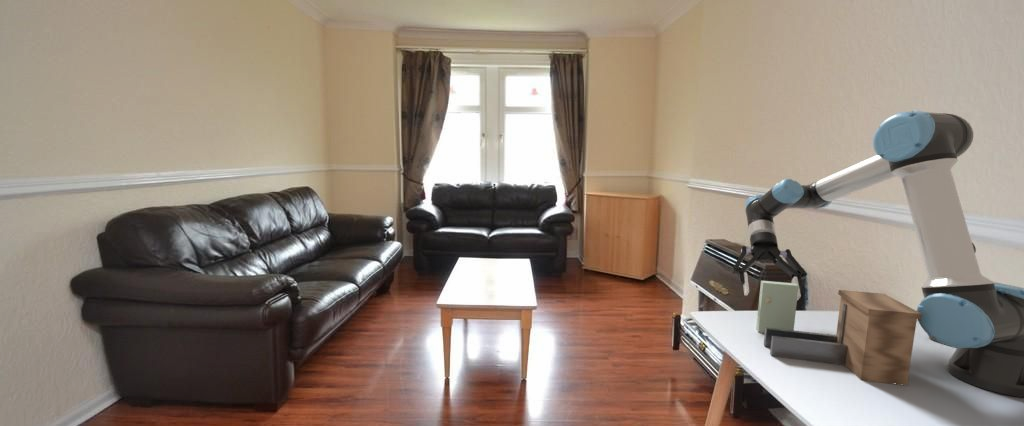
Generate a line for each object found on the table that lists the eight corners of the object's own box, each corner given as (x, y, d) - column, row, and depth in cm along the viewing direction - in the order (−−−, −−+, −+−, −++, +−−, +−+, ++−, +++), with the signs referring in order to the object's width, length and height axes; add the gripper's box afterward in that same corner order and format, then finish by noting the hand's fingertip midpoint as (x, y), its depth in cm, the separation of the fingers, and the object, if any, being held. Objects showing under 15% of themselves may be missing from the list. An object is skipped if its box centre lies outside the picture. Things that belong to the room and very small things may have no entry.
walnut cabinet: (875, 358, 113) (884, 293, 111) (910, 387, 99) (921, 314, 97) (830, 352, 116) (838, 289, 114) (859, 380, 102) (868, 308, 99)
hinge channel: (833, 353, 116) (835, 334, 115) (845, 365, 109) (847, 345, 108) (763, 344, 120) (765, 327, 119) (771, 355, 113) (773, 337, 113)
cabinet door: (790, 333, 129) (795, 283, 127) (793, 337, 126) (799, 286, 124) (756, 329, 131) (760, 280, 129) (759, 333, 128) (764, 283, 126)
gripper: (802, 246, 143) (815, 306, 130) (718, 240, 149) (723, 297, 137) (810, 233, 137) (825, 294, 124) (723, 227, 143) (728, 285, 131)
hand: (772, 295), depth 130 cm, fingers open, 13 cm apart
